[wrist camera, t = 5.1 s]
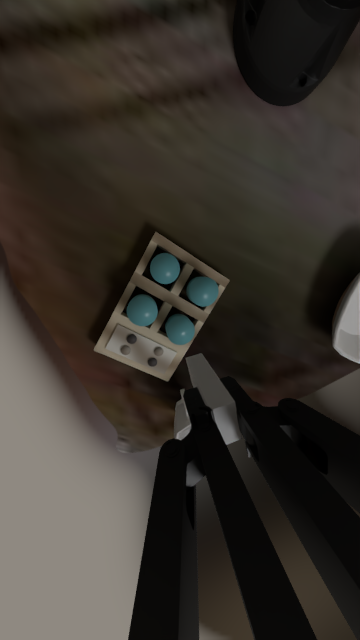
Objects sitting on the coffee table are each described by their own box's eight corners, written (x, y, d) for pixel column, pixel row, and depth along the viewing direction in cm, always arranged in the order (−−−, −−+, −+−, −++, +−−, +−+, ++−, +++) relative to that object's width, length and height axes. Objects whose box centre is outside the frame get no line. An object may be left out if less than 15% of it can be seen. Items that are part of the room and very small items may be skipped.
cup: (172, 424, 38) (177, 462, 30) (162, 384, 35) (165, 415, 28) (203, 415, 39) (217, 450, 31) (196, 375, 36) (209, 403, 28)
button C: (137, 289, 28) (135, 290, 25) (161, 302, 29) (163, 305, 26) (124, 313, 29) (121, 317, 26) (148, 325, 30) (148, 331, 27)
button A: (158, 249, 29) (159, 246, 26) (181, 264, 30) (185, 263, 27) (145, 274, 29) (144, 274, 26) (168, 287, 30) (170, 289, 28)
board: (155, 234, 28) (155, 230, 26) (224, 279, 32) (230, 280, 30) (96, 345, 31) (92, 351, 29) (167, 375, 35) (168, 383, 33)
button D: (173, 309, 30) (175, 312, 27) (195, 321, 31) (200, 326, 28) (160, 331, 30) (161, 337, 28) (182, 342, 32) (185, 349, 29)
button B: (195, 271, 29) (200, 271, 26) (216, 285, 30) (224, 286, 27) (181, 295, 30) (184, 297, 27) (203, 308, 31) (208, 311, 28)
